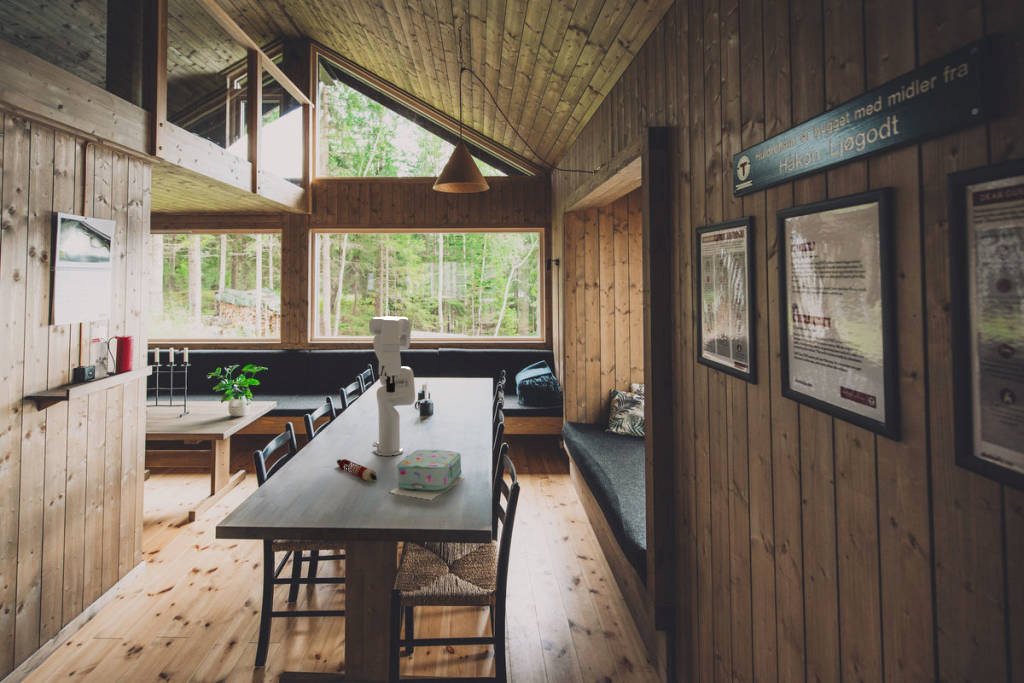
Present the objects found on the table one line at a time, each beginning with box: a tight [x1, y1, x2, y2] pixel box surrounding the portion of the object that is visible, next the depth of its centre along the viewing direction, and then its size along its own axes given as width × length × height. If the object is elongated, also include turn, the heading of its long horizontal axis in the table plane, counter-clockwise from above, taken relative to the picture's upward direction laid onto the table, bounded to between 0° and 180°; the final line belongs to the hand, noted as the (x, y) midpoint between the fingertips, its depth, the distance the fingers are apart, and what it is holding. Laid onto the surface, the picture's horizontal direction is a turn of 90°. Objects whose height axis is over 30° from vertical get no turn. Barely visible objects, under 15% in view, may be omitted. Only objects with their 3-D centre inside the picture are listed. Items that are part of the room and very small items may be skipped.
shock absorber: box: [336, 458, 378, 483], centre depth 215 cm, size 5×5×30 cm
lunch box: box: [396, 449, 463, 490], centre depth 205 cm, size 27×10×21 cm
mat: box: [389, 476, 465, 501], centre depth 203 cm, size 18×26×1 cm
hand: (390, 392), depth 220 cm, fingers closed
